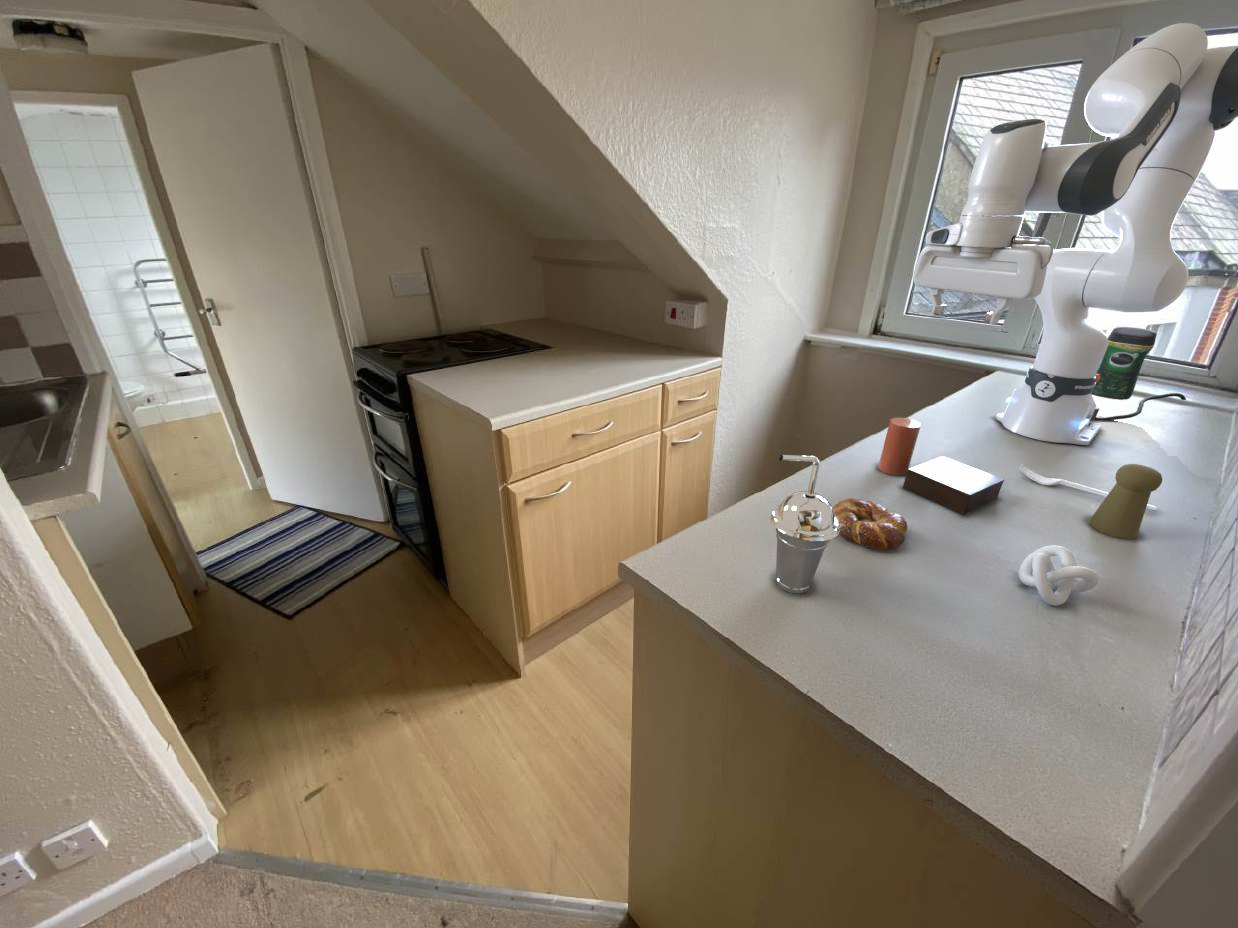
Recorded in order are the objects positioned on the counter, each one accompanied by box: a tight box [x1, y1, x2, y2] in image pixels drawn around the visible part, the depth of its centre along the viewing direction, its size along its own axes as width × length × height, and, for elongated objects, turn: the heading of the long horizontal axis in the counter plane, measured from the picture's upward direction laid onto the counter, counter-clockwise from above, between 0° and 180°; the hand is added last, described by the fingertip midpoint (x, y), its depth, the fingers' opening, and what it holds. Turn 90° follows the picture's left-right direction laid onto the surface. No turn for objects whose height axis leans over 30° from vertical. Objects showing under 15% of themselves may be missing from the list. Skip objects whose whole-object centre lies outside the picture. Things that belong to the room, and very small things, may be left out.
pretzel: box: [832, 497, 908, 550], centre depth 83 cm, size 12×11×4 cm
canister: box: [877, 417, 922, 477], centre depth 101 cm, size 5×5×10 cm
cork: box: [1088, 463, 1163, 540], centre depth 83 cm, size 6×6×11 cm
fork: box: [1018, 463, 1157, 511], centre depth 96 cm, size 3×20×2 cm, turn 47°
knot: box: [1018, 544, 1100, 607], centre depth 70 cm, size 8×8×6 cm
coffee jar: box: [1091, 326, 1157, 401], centre depth 142 cm, size 10×8×19 cm
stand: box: [902, 455, 1005, 516], centre depth 94 cm, size 11×11×4 cm
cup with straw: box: [770, 454, 840, 595], centre depth 68 cm, size 8×9×20 cm
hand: (962, 319), depth 94 cm, fingers open, 8 cm apart
